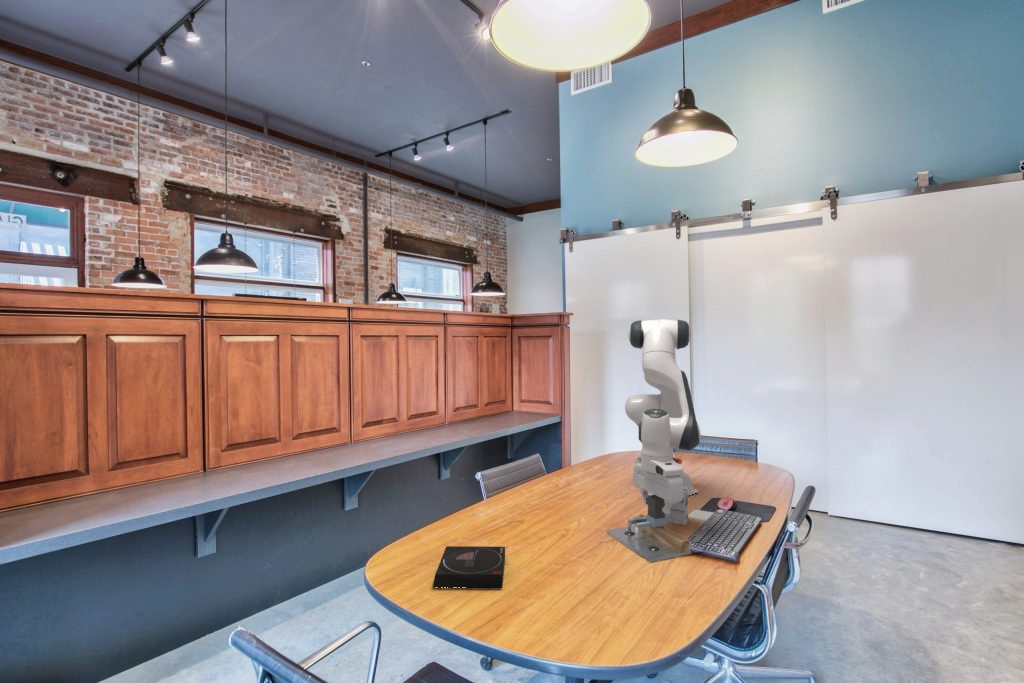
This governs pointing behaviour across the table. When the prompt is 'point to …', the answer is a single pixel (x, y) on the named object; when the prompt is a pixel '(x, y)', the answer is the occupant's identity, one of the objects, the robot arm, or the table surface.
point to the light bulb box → (679, 510)
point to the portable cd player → (471, 567)
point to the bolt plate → (645, 544)
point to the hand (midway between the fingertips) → (656, 508)
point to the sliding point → (653, 514)
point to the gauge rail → (662, 534)
